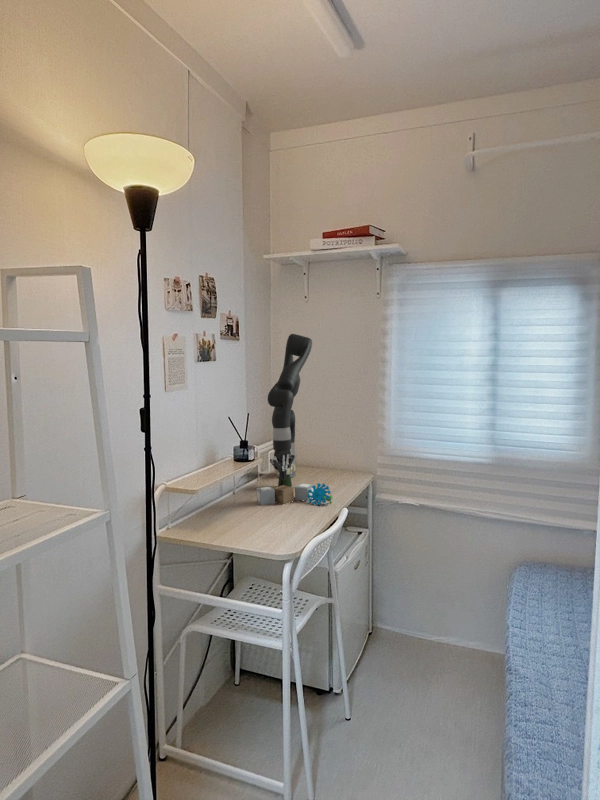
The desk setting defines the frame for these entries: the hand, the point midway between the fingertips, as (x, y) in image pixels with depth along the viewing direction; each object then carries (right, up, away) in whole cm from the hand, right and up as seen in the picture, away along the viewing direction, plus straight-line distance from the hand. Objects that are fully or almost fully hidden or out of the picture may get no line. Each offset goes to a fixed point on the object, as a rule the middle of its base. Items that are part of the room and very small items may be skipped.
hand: (283, 479), depth 222 cm
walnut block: (0, -10, +1) cm, 10 cm away
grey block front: (-7, -10, +1) cm, 12 cm away
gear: (+15, -10, -2) cm, 18 cm away
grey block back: (+9, -9, +4) cm, 13 cm away
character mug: (0, -7, +22) cm, 24 cm away
